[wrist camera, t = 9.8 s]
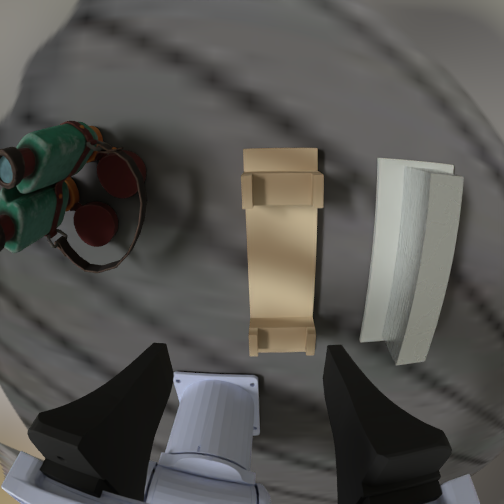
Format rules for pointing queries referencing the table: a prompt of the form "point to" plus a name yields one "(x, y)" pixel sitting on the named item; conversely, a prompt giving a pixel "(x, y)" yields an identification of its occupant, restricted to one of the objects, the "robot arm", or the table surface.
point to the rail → (422, 261)
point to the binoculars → (65, 189)
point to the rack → (281, 246)
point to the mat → (386, 241)
